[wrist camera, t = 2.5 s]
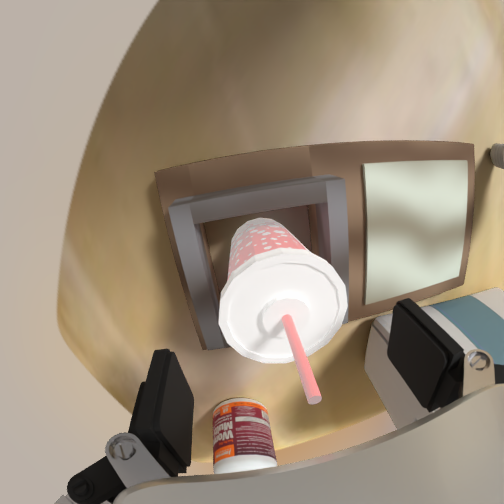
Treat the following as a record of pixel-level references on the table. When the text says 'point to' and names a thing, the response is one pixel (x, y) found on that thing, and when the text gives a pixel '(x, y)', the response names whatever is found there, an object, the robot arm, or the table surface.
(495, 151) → the lightbulb
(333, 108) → the table surface
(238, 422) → the pill bottle
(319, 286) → the beverage cup
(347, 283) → the socket board
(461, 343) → the stereo radio cassette player
